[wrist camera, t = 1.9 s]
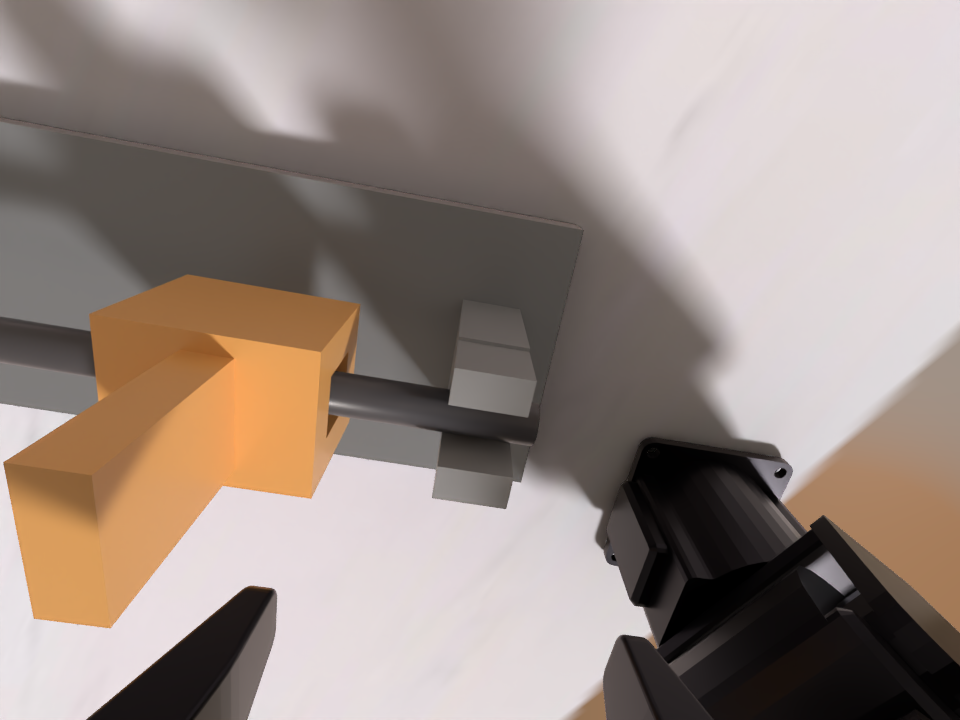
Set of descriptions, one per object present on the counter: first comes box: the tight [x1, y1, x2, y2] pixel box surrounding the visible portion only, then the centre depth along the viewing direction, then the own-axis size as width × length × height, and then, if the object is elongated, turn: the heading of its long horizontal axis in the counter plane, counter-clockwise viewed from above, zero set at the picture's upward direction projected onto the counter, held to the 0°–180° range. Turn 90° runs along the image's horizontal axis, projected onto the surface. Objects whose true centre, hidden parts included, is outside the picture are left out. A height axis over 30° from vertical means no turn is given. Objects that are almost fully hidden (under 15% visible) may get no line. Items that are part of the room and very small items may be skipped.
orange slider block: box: [3, 274, 360, 628], centre depth 12 cm, size 5×4×8 cm
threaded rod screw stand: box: [0, 117, 584, 509], centre depth 15 cm, size 29×10×8 cm, turn 80°
